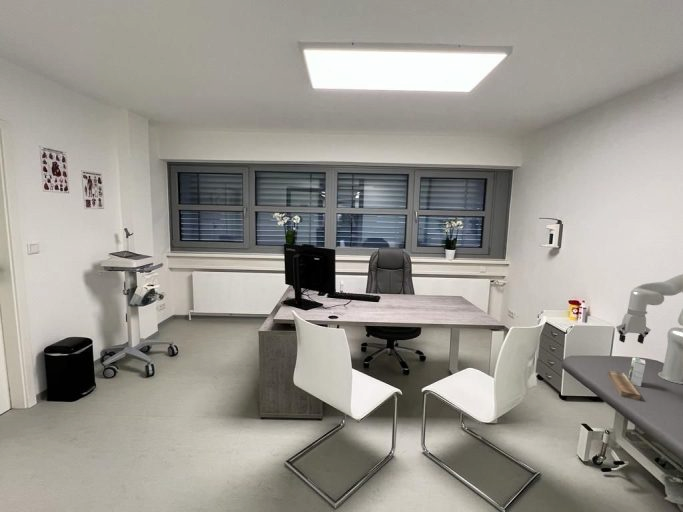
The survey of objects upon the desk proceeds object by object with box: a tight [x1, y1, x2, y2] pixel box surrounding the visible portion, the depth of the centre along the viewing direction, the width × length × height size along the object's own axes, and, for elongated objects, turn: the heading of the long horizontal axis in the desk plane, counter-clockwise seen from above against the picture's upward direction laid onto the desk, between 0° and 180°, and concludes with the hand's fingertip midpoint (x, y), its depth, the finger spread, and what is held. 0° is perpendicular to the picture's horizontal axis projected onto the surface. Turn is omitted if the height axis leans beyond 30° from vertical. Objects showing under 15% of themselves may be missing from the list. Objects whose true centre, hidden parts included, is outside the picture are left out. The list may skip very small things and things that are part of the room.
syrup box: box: [627, 357, 646, 387], centre depth 194 cm, size 6×6×14 cm
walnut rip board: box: [607, 370, 642, 402], centre depth 190 cm, size 8×26×3 cm, turn 154°
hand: (630, 342), depth 188 cm, fingers open, 9 cm apart
